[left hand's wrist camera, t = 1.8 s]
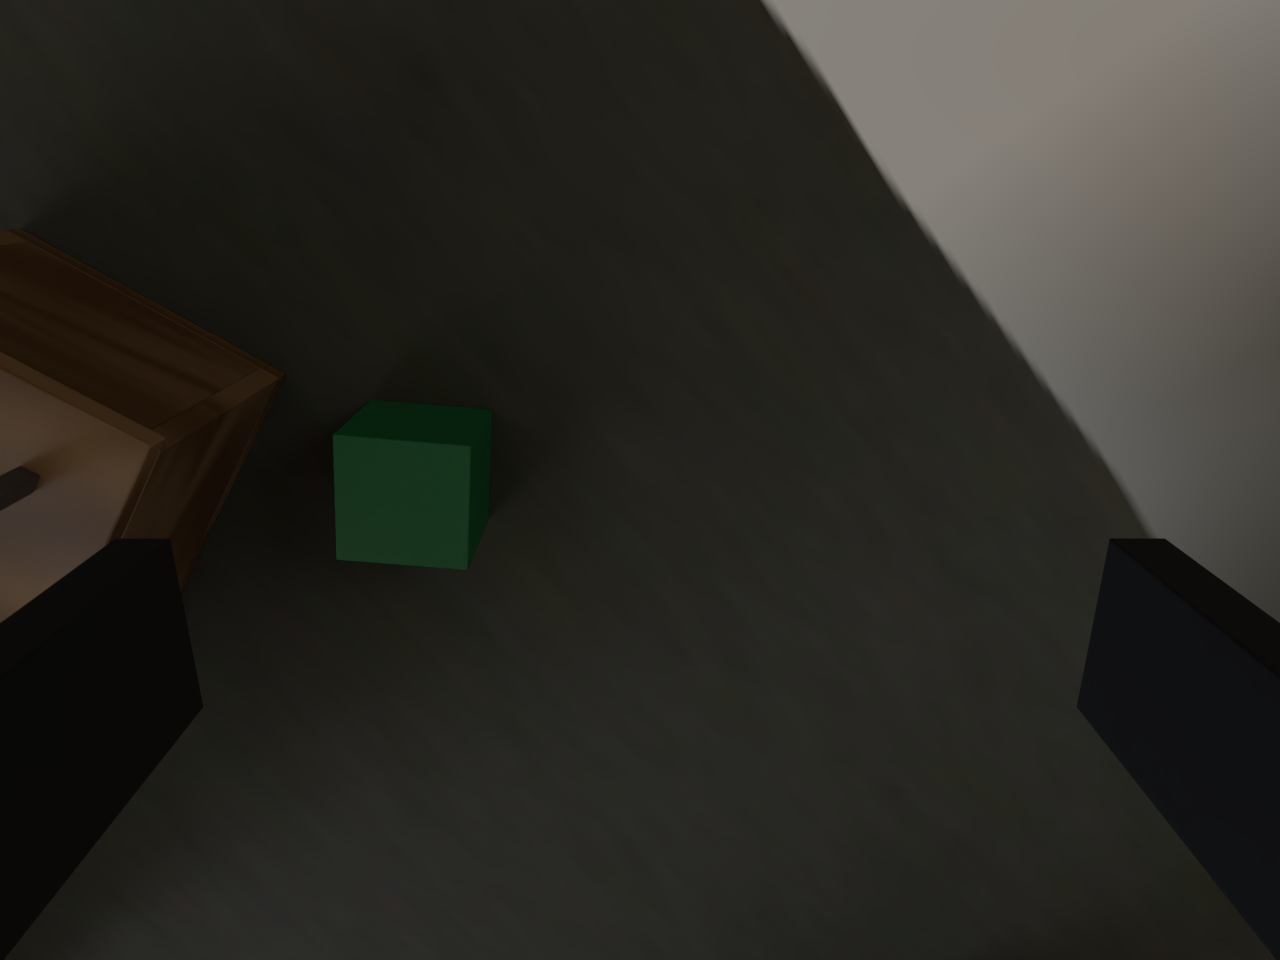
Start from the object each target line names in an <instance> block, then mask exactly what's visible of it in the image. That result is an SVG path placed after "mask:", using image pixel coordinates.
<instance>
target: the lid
mask: <svg viewBox="0 0 1280 960" xmlns="http://www.w3.org/2000/svg"><path fill="white" fill-rule="evenodd" d="M164 440H165V437H164V436H162V435H160V434H158V433H156V432H154V431H152V430H150V429H148V428H146V427H144V426H142V425H140V424H139V423H137V422H135V421H133V420H131V419H129V418H127V417H125V416H123V415H121V414H119V413H117V412H115V411H114V410H112V409H110V408H108V407H106V406H104V405H102V404H100V403H98V402H96V401H94V400H92V399H90V398H89V397H87V396H85V395H83V394H81V393H79V392H77V391H75V390H73V389H71V388H69V387H67V386H65V385H63V384H62V383H60V382H58V381H56V380H54V379H52V378H50V377H48V376H46V375H44V374H42V373H40V372H38V371H37V370H35V369H33V368H31V367H29V366H27V365H25V364H23V363H21V362H19V361H17V360H15V359H13V358H12V357H10V356H8V355H6V354H4V353H2V352H0V623H1V622H2V621H4V620H5V619H7V618H8V617H9V616H11V615H12V614H13V613H15V612H16V611H17V610H19V609H20V608H21V607H23V606H24V605H26V604H27V603H28V602H30V601H31V600H32V599H34V598H35V597H36V596H38V595H39V594H41V593H42V592H43V591H45V590H46V589H47V588H49V587H50V586H51V585H53V584H54V583H56V582H57V581H58V580H60V579H61V578H62V577H64V576H65V575H66V574H68V573H69V572H71V571H72V570H73V569H75V568H76V567H77V566H79V565H80V564H81V563H83V562H84V561H86V560H87V559H88V558H90V557H91V556H92V555H94V554H95V553H96V552H98V551H99V550H100V549H102V548H103V547H105V546H106V545H107V544H109V543H110V542H111V541H113V540H114V539H121V537H122V535H123V533H124V531H125V528H126V526H127V524H128V522H129V519H130V517H131V515H132V513H133V510H134V508H135V506H136V503H137V501H138V499H139V497H140V494H141V492H142V490H143V488H144V485H145V483H146V481H147V479H148V476H149V474H150V472H151V470H152V467H153V465H154V463H155V461H156V458H157V456H158V454H159V451H160V449H161V447H162V445H163V442H164Z"/></svg>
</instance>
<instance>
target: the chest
mask: <svg viewBox="0 0 1280 960" xmlns="http://www.w3.org/2000/svg"><path fill="white" fill-rule="evenodd" d="M0 352H2V353H4V354H6V355H8V356H10V357H12V358H13V359H15V360H17V361H19V362H21V363H23V364H25V365H27V366H29V367H31V368H33V369H35V370H37V371H38V372H40V373H42V374H44V375H46V376H48V377H50V378H52V379H54V380H56V381H58V382H60V383H62V384H63V385H65V386H67V387H69V388H71V389H73V390H75V391H77V392H79V393H81V394H83V395H85V396H87V397H89V398H90V399H92V400H94V401H96V402H98V403H100V404H102V405H104V406H106V407H108V408H110V409H112V410H114V411H115V412H117V413H119V414H121V415H123V416H125V417H127V418H129V419H131V420H133V421H135V422H137V423H139V424H140V425H142V426H144V427H146V428H148V429H150V430H152V431H154V432H156V433H158V434H160V435H162V436H164V437H165V440H164V442H163V445H162V447H161V449H160V451H159V454H158V456H157V458H156V461H155V463H154V465H153V467H152V470H151V472H150V474H149V476H148V479H147V481H146V483H145V485H144V488H143V490H142V492H141V494H140V497H139V499H138V501H137V503H136V506H135V508H134V510H133V513H132V515H131V517H130V519H129V522H128V524H127V526H126V528H125V531H124V533H123V535H122V537H121V539H170V540H171V546H172V551H173V556H174V561H175V566H176V571H177V576H178V581H179V586H180V592H182V590H183V588H184V586H185V584H186V582H187V580H188V578H189V576H190V573H191V571H192V569H193V567H194V565H195V563H196V561H197V559H198V557H199V555H200V552H201V550H202V548H203V546H204V544H205V542H206V540H207V538H208V536H209V534H210V532H211V529H212V527H213V525H214V523H215V521H216V519H217V517H218V515H219V513H220V511H221V508H222V506H223V504H224V502H225V500H226V498H227V496H228V494H229V492H230V490H231V488H232V485H233V483H234V481H235V479H236V477H237V475H238V473H239V471H240V469H241V467H242V465H243V462H244V460H245V458H246V456H247V454H248V452H249V450H250V448H251V446H252V444H253V441H254V439H255V437H256V435H257V433H258V431H259V429H260V427H261V425H262V423H263V421H264V418H265V416H266V414H267V412H268V410H269V408H270V406H271V404H272V402H273V400H274V397H275V395H276V393H277V391H278V389H279V387H280V385H281V383H282V381H283V379H284V377H285V373H283V372H281V371H280V370H278V369H276V368H274V367H272V366H270V365H269V364H267V363H265V362H263V361H261V360H259V359H258V358H256V357H254V356H252V355H250V354H248V353H247V352H245V351H243V350H241V349H239V348H237V347H236V346H234V345H232V344H230V343H228V342H226V341H225V340H223V339H221V338H219V337H217V336H216V335H214V334H212V333H210V332H208V331H206V330H205V329H203V328H201V327H199V326H197V325H195V324H194V323H192V322H190V321H188V320H186V319H184V318H183V317H181V316H179V315H177V314H175V313H173V312H172V311H170V310H168V309H166V308H164V307H162V306H161V305H159V304H157V303H155V302H153V301H151V300H150V299H148V298H146V297H144V296H142V295H140V294H139V293H137V292H135V291H133V290H131V289H130V288H128V287H126V286H124V285H122V284H120V283H119V282H117V281H115V280H113V279H111V278H109V277H108V276H106V275H104V274H102V273H100V272H98V271H97V270H95V269H93V268H91V267H89V266H87V265H86V264H84V263H82V262H80V261H78V260H76V259H75V258H73V257H71V256H69V255H67V254H65V253H64V252H62V251H60V250H58V249H56V248H54V247H53V246H51V245H49V244H47V243H45V242H44V241H42V240H40V239H38V238H36V237H34V236H33V235H31V234H29V233H27V232H25V231H23V230H22V229H12V230H3V231H0Z"/></svg>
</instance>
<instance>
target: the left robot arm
mask: <svg viewBox="0 0 1280 960" xmlns="http://www.w3.org/2000/svg"><path fill="white" fill-rule="evenodd" d="M202 708H203V704H202V699H201V694H200V688H199V683H198V678H197V673H196V668H195V663H194V658H193V653H192V648H191V643H190V637H189V632H188V627H187V622H186V617H185V612H184V607H183V602H182V597H181V592H180V586H179V581H178V576H177V571H176V566H175V561H174V556H173V551H172V546H171V540H170V539H114V540H113V541H111V542H110V543H109V544H107V545H106V546H105V547H103V548H102V549H100V550H99V551H98V552H96V553H95V554H94V555H92V556H91V557H90V558H88V559H87V560H86V561H84V562H83V563H81V564H80V565H79V566H77V567H76V568H75V569H73V570H72V571H71V572H69V573H68V574H66V575H65V576H64V577H62V578H61V579H60V580H58V581H57V582H56V583H54V584H53V585H51V586H50V587H49V588H47V589H46V590H45V591H43V592H42V593H41V594H39V595H38V596H36V597H35V598H34V599H32V600H31V601H30V602H28V603H27V604H26V605H24V606H23V607H21V608H20V609H19V610H17V611H16V612H15V613H13V614H12V615H11V616H9V617H8V618H7V619H5V620H4V621H2V622H1V623H0V960H4V959H5V957H6V956H7V955H8V954H9V952H10V951H11V950H12V948H13V947H14V946H15V945H16V943H17V942H18V941H19V940H20V938H21V937H22V936H23V935H24V933H25V932H26V931H27V929H28V928H29V927H30V926H31V924H32V923H33V922H34V921H35V919H36V918H37V917H38V916H39V914H40V913H41V912H42V910H43V909H44V908H45V907H46V905H47V904H48V903H49V902H50V900H51V899H52V898H53V897H54V895H55V894H56V893H57V891H58V890H59V889H60V888H61V886H62V885H63V884H64V883H65V881H66V880H67V879H68V878H69V876H70V875H71V874H72V872H73V871H74V870H75V869H76V867H77V866H78V865H79V864H80V862H81V861H82V860H83V859H84V857H85V856H86V855H87V853H88V852H89V851H90V850H91V848H92V847H93V846H94V845H95V843H96V842H97V841H98V839H99V838H100V837H101V836H102V834H103V833H104V832H105V831H106V829H107V828H108V827H109V826H110V824H111V823H112V822H113V820H114V819H115V818H116V817H117V815H118V814H119V813H120V812H121V810H122V809H123V808H124V807H125V805H126V804H127V803H128V801H129V800H130V799H131V798H132V796H133V795H134V794H135V793H136V791H137V790H138V789H139V788H140V786H141V785H142V784H143V782H144V781H145V780H146V779H147V777H148V776H149V775H150V774H151V772H152V771H153V770H154V769H155V767H156V766H157V765H158V763H159V762H160V761H161V760H162V758H163V757H164V756H165V755H166V753H167V752H168V751H169V750H170V748H171V747H172V746H173V744H174V743H175V742H176V741H177V739H178V738H179V737H180V736H181V734H182V733H183V732H184V731H185V729H186V728H187V727H188V725H189V724H190V723H191V722H192V720H193V719H194V718H195V717H196V715H197V714H198V713H199V712H200V710H201V709H202ZM1077 708H1078V709H1079V710H1080V712H1081V713H1082V714H1083V715H1084V717H1085V718H1086V719H1087V720H1088V722H1089V723H1090V724H1091V725H1092V727H1093V728H1094V729H1095V731H1096V732H1097V733H1098V734H1099V736H1100V737H1101V738H1102V739H1103V741H1104V742H1105V743H1106V744H1107V746H1108V747H1109V748H1110V750H1111V751H1112V752H1113V753H1114V755H1115V756H1116V757H1117V758H1118V760H1119V761H1120V762H1121V763H1122V765H1123V766H1124V767H1125V769H1126V770H1127V771H1128V772H1129V774H1130V775H1131V776H1132V777H1133V779H1134V780H1135V781H1136V782H1137V784H1138V785H1139V786H1140V788H1141V789H1142V790H1143V791H1144V793H1145V794H1146V795H1147V796H1148V798H1149V799H1150V800H1151V801H1152V803H1153V804H1154V805H1155V807H1156V808H1157V809H1158V810H1159V812H1160V813H1161V814H1162V815H1163V817H1164V818H1165V819H1166V820H1167V822H1168V823H1169V824H1170V826H1171V827H1172V828H1173V829H1174V831H1175V832H1176V833H1177V834H1178V836H1179V837H1180V838H1181V839H1182V841H1183V842H1184V843H1185V845H1186V846H1187V847H1188V848H1189V850H1190V851H1191V852H1192V853H1193V855H1194V856H1195V857H1196V858H1197V860H1198V861H1199V862H1200V864H1201V865H1202V866H1203V867H1204V869H1205V870H1206V871H1207V872H1208V874H1209V875H1210V876H1211V878H1212V879H1213V880H1214V881H1215V883H1216V884H1217V885H1218V886H1219V888H1220V889H1221V890H1222V891H1223V893H1224V894H1225V895H1226V897H1227V898H1228V899H1229V900H1230V902H1231V903H1232V904H1233V905H1234V907H1235V908H1236V909H1237V910H1238V912H1239V913H1240V914H1241V916H1242V917H1243V918H1244V919H1245V921H1246V922H1247V923H1248V924H1249V926H1250V927H1251V928H1252V929H1253V931H1254V932H1255V933H1256V935H1257V936H1258V937H1259V938H1260V940H1261V941H1262V942H1263V943H1264V945H1265V946H1266V947H1267V948H1268V950H1269V951H1270V952H1271V954H1272V955H1273V956H1274V957H1275V959H1276V960H1280V623H1279V622H1278V621H1276V620H1275V619H1274V618H1272V617H1271V616H1269V615H1268V614H1267V613H1265V612H1264V611H1263V610H1261V609H1260V608H1259V607H1257V606H1256V605H1254V604H1253V603H1252V602H1250V601H1249V600H1248V599H1246V598H1245V597H1244V596H1242V595H1241V594H1239V593H1238V592H1237V591H1235V590H1234V589H1233V588H1231V587H1230V586H1229V585H1227V584H1226V583H1224V582H1223V581H1222V580H1220V579H1219V578H1218V577H1216V576H1215V575H1214V574H1212V573H1211V572H1209V571H1208V570H1207V569H1205V568H1204V567H1203V566H1201V565H1200V564H1199V563H1197V562H1196V561H1194V560H1193V559H1192V558H1190V557H1189V556H1188V555H1186V554H1185V553H1184V552H1182V551H1181V550H1180V549H1178V548H1177V547H1175V546H1174V545H1173V544H1171V543H1170V542H1169V541H1167V540H1166V539H1110V540H1109V546H1108V551H1107V556H1106V561H1105V566H1104V571H1103V576H1102V581H1101V586H1100V592H1099V597H1098V602H1097V607H1096V612H1095V617H1094V622H1093V627H1092V632H1091V637H1090V643H1089V648H1088V653H1087V658H1086V663H1085V668H1084V673H1083V678H1082V683H1081V688H1080V694H1079V699H1078V704H1077Z"/></svg>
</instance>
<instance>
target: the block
mask: <svg viewBox="0 0 1280 960" xmlns="http://www.w3.org/2000/svg"><path fill="white" fill-rule="evenodd" d="M491 428H492V410H490V409H478V408H466V407H455V406H443V405H432V404H420V403H408V402H397V401H385V400H373V399H372V400H370V401H369V402H368V403H367V404H366V405H365V406H364V407H363V408H362V409H360V410H359V411H358V412H357V413H356V414H355V415H354V416H353V417H352V418H351V419H349V420H348V421H347V422H346V423H345V424H344V425H343V426H342V427H341V428H340V429H339V430H337V431H336V432H335V433H334V434H333V436H332V437H333V471H334V505H335V538H336V559H337V560H347V561H359V562H372V563H384V564H396V565H409V566H421V567H434V568H446V569H459V570H468V568H469V565H470V563H471V560H472V558H473V555H474V553H475V551H476V548H477V546H478V543H479V541H480V539H481V536H482V534H483V531H484V529H485V527H486V524H487V522H488V517H489V487H490V457H491Z"/></svg>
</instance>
